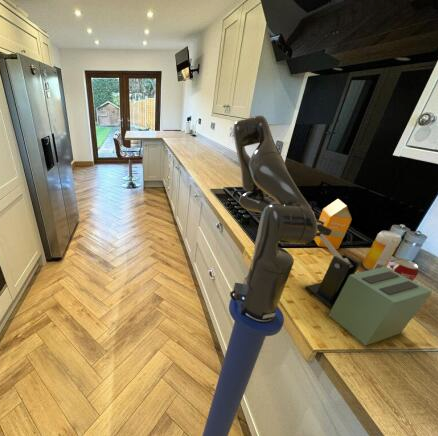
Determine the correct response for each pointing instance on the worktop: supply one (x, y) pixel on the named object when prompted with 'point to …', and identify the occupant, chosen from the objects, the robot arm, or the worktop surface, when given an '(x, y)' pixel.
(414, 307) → the toaster
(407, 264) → the soda can
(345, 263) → the bracket
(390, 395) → the worktop surface
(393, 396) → the worktop surface
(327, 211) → the orange juice
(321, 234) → the lever
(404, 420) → the worktop surface
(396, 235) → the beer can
